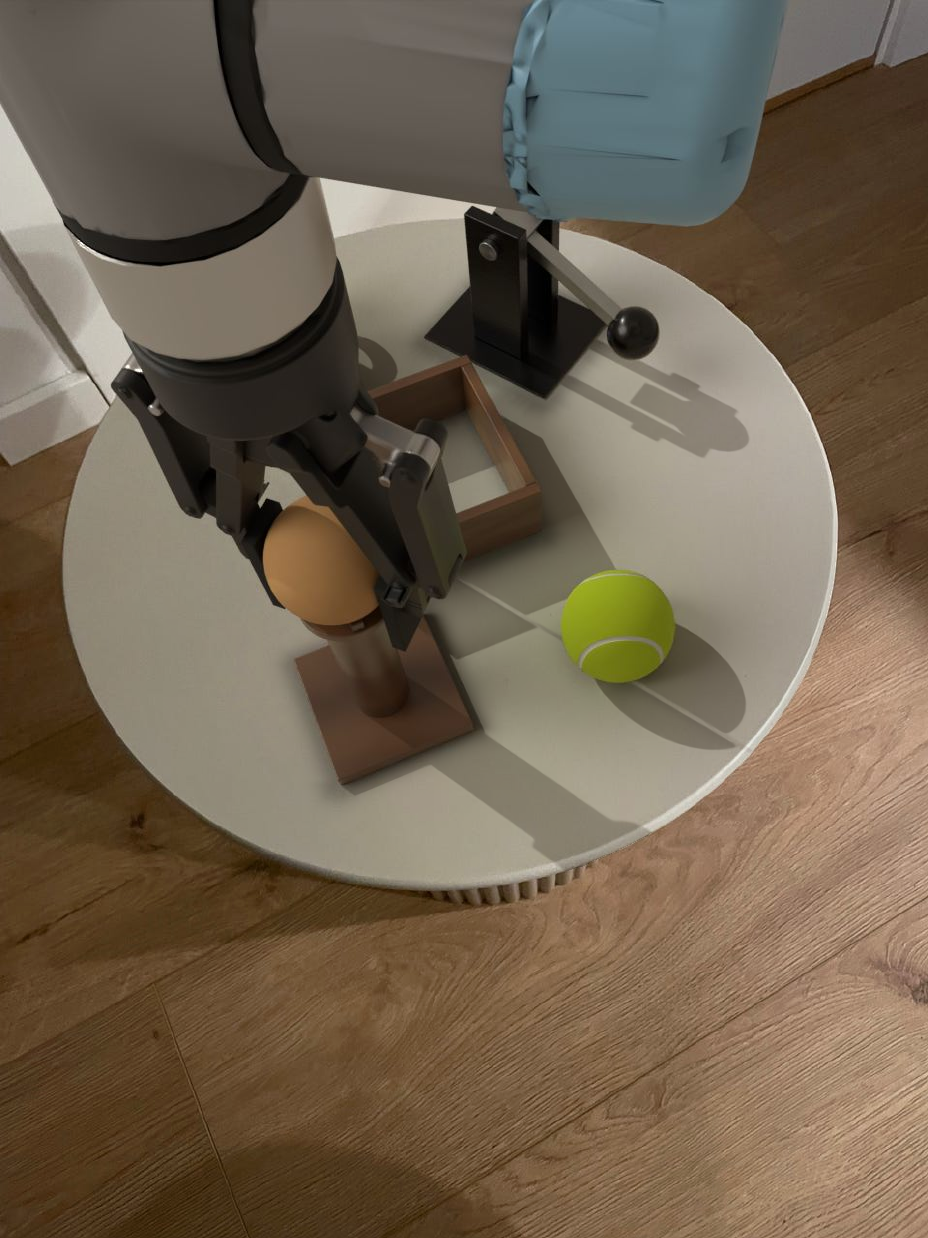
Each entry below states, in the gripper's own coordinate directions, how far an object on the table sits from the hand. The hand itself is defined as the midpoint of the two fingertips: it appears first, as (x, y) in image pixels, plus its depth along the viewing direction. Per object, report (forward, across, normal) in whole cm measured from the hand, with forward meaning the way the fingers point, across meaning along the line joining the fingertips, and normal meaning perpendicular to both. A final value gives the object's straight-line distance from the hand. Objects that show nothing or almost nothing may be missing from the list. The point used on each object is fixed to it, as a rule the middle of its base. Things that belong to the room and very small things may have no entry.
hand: (348, 606), depth 53 cm
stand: (+13, 0, 0) cm, 13 cm away
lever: (+6, -1, -30) cm, 31 cm away
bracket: (+13, +3, -31) cm, 34 cm away
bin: (+13, +4, -15) cm, 20 cm away
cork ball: (-5, 0, 0) cm, 5 cm away
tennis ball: (+13, -13, -8) cm, 20 cm away
